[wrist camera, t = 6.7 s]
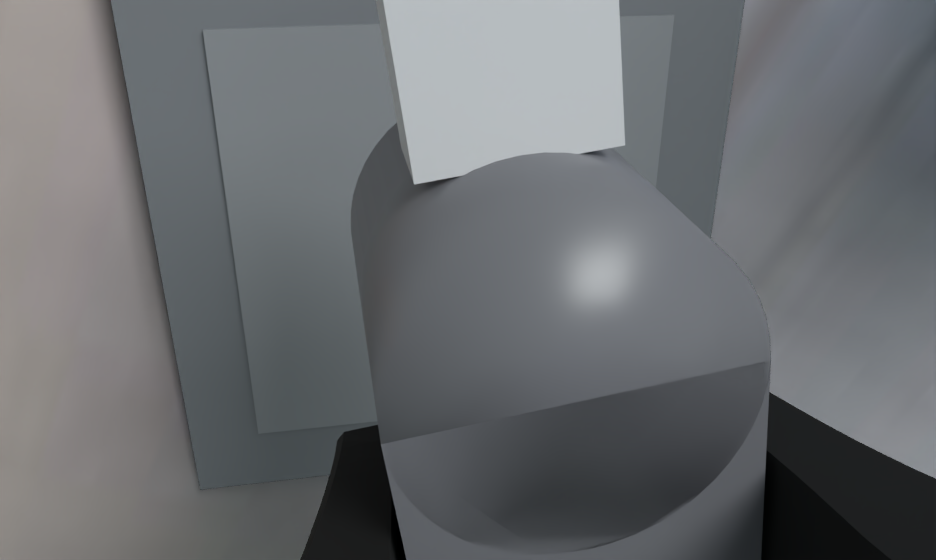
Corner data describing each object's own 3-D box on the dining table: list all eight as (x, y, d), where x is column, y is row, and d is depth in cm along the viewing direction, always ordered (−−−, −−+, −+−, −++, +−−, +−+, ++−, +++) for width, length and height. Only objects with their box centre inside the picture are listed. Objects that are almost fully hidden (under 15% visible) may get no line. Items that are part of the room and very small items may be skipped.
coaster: (740, -71, 17) (757, -68, 16) (673, 420, 22) (684, 436, 22) (106, -62, 15) (98, -58, 14) (202, 473, 20) (199, 492, 20)
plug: (284, -81, 10) (273, -37, 6) (599, -130, 10) (794, -118, 6) (427, 594, 15) (473, 862, 11) (633, 546, 15) (749, 788, 11)
